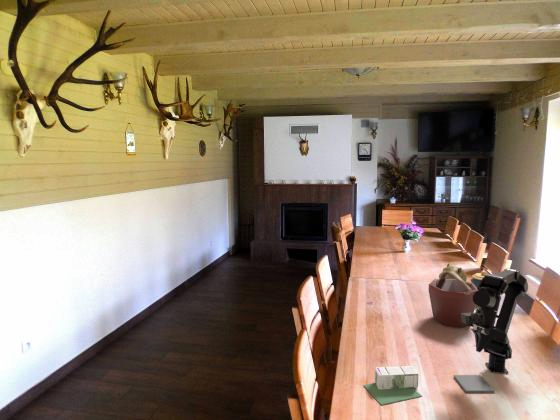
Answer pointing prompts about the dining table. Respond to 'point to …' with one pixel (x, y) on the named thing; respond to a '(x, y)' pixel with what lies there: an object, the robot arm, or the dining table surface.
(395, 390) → the felt mat
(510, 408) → the dining table surface
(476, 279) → the canister
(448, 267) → the frog figurine
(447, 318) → the bucket
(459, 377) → the slate coaster
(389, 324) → the dining table surface
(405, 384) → the syrup box
